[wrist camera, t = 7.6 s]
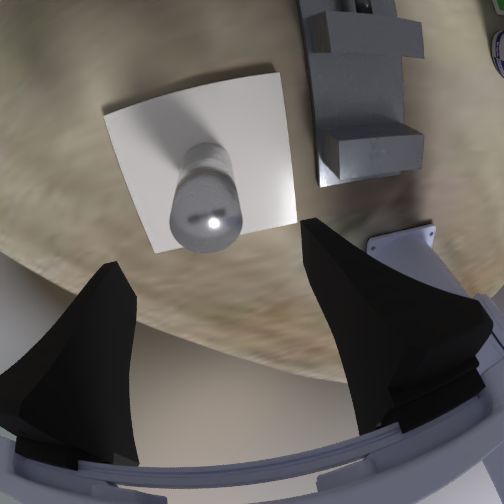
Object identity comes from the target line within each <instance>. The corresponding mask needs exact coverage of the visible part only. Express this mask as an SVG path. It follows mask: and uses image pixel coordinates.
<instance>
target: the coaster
mask: <svg viewBox="0 0 504 504" xmlns="http://www.w3.org/2000/svg"><path fill="white" fill-rule="evenodd" d="M104 120H105V123H106V126H107V129H108V132H109V135H110V138H111V141H112V144H113V147H114V150H115V153H116V156H117V159H118V162H119V164H120V167H121V170H122V173H123V175H124V178H125V181H126V183H127V186H128V189H129V191H130V194H131V196H132V199H133V202H134V204H135V207H136V209H137V212H138V214H139V216H140V219H141V221H142V224H143V226H144V228H145V231H146V233H147V236H148V238H149V240H150V242H151V245H152V247H153V249H154V252H155V253H160V252H164V251H168V250H173V249H177V248H182V247H183V246H182V245H180V244H179V243H178V242H177V241H176V240H175V238H174V237H173V235H172V233H171V230H170V226H169V219H170V213H171V208H172V204H173V199H174V194H175V190H176V186H177V181H178V177H179V173H180V169H181V165H182V161H183V158H184V156H185V154H186V152H187V151H188V150H189V149H190V148H192V147H193V146H195V145H197V144H200V143H206V142H208V143H215V144H217V145H220V146H221V147H223V148H224V149H225V150H226V151H227V152H228V154H229V156H230V158H231V163H232V168H233V173H234V178H235V183H236V188H237V193H238V198H239V203H240V208H241V213H242V218H243V225H242V230H241V232H240V235H241V234H245V233H250V232H255V231H260V230H264V229H269V228H274V227H279V226H284V225H288V224H293V223H297V214H296V203H295V193H294V182H293V173H292V163H291V154H290V146H289V137H288V129H287V121H286V114H285V106H284V99H283V92H282V85H281V78H280V72H273V73H265V74H258V75H251V76H245V77H239V78H233V79H228V80H223V81H218V82H213V83H208V84H204V85H199V86H195V87H191V88H187V89H183V90H179V91H176V92H172V93H168V94H165V95H161V96H158V97H155V98H151V99H148V100H145V101H142V102H139V103H136V104H133V105H130V106H127V107H124V108H122V109H119V110H116V111H114V112H111V113H108V114H106V115H105V116H104Z"/></svg>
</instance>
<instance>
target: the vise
mask: <svg viewBox="0 0 504 504" xmlns="http://www.w3.org/2000/svg"><path fill="white" fill-rule="evenodd" d="M296 2H297V7H298V12H299V18H300V24H301V30H302V36H303V43H304V49H305V56H306V64H307V71H308V79H309V87H310V96H311V105H312V115H313V126H314V137H315V150H316V164H317V181H318V185H319V186H320V187H325V186H331V185H337V184H343V183H349V182H355V181H361V180H368V179H375V178H381V177H388V176H396V175H400V173H401V171H406V170H414V169H422V159H423V147H424V134H422V133H420V132H418V131H416V130H414V129H412V128H410V127H408V126H406V125H404V124H403V77H402V60H401V56H406V57H415V58H422V59H424V46H423V35H422V26H421V22H417V21H412V20H407V19H401V18H397V13H396V7H395V1H394V0H296Z"/></svg>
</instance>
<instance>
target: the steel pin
mask: <svg viewBox="0 0 504 504" xmlns="http://www.w3.org/2000/svg"><path fill="white" fill-rule="evenodd" d="M242 225H243V218H242V213H241V208H240V203H239V198H238V193H237V188H236V183H235V178H234V173H233V168H232V163H231V158H230V156H229V154H228V152H227V151H226V150H225V149H224V148H223V147H221V146H220V145H217V144H215V143H208V142H206V143H200V144H197V145H195V146H193V147H192V148H190V149H189V150H188V151H187V152H186V154H185V156H184V158H183V161H182V165H181V169H180V173H179V177H178V181H177V186H176V190H175V194H174V199H173V204H172V208H171V213H170V219H169V226H170V230H171V233H172V235H173V237H174V238H175V240H176V241H177V242H178V243H179V244H180V245H182V246H183V247H185V248H186V249H188V250H191V251H194V252H198V253H213V252H217V251H221V250H223V249H225V248H227V247H228V246H230V245H231V244H232V243H233V242H234V241H235V240H236V239H237V238H238V236H239V235H240V232H241V230H242Z"/></svg>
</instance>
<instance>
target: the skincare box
mask: <svg viewBox="0 0 504 504" xmlns="http://www.w3.org/2000/svg"><path fill="white" fill-rule="evenodd" d="M492 1H493V4H494V8H495V11H496V13H497V14H498V15H504V0H492Z"/></svg>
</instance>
